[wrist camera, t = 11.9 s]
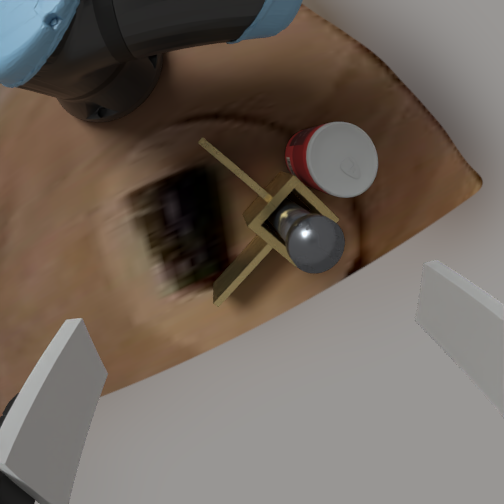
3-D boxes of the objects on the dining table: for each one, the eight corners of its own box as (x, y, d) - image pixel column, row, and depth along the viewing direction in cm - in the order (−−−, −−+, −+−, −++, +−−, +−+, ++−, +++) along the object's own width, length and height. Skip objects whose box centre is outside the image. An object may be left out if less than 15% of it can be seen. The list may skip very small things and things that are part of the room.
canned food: (324, 195, 40) (360, 211, 29) (272, 169, 38) (293, 175, 28) (348, 147, 38) (390, 147, 28) (298, 118, 36) (327, 106, 26)
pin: (254, 213, 39) (276, 249, 25) (279, 185, 39) (317, 204, 24) (281, 237, 41) (316, 284, 26) (306, 210, 40) (355, 242, 25)
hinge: (137, 224, 38) (122, 238, 31) (222, 120, 35) (223, 112, 29) (236, 300, 43) (239, 325, 36) (320, 208, 40) (339, 219, 34)
